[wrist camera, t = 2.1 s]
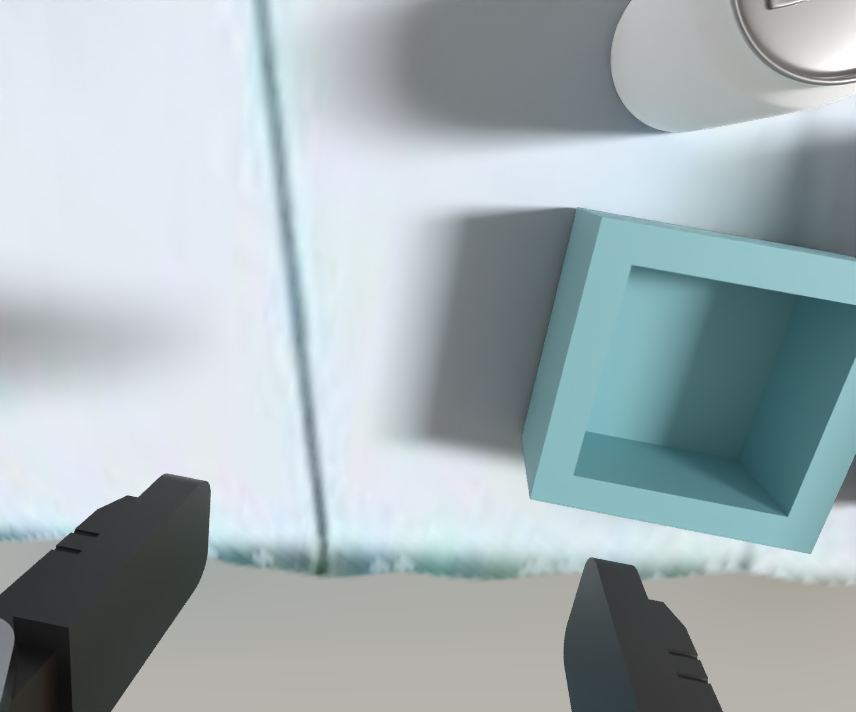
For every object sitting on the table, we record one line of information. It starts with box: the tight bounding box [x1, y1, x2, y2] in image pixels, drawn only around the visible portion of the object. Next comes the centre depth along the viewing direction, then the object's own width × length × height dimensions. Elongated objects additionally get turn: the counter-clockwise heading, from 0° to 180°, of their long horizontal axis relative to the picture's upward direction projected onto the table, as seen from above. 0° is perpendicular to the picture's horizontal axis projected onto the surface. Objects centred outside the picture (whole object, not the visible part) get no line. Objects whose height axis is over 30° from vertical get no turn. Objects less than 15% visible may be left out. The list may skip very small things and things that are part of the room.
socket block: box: [521, 207, 856, 554], centre depth 26 cm, size 12×12×6 cm
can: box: [611, 0, 856, 132], centre depth 19 cm, size 6×6×12 cm
